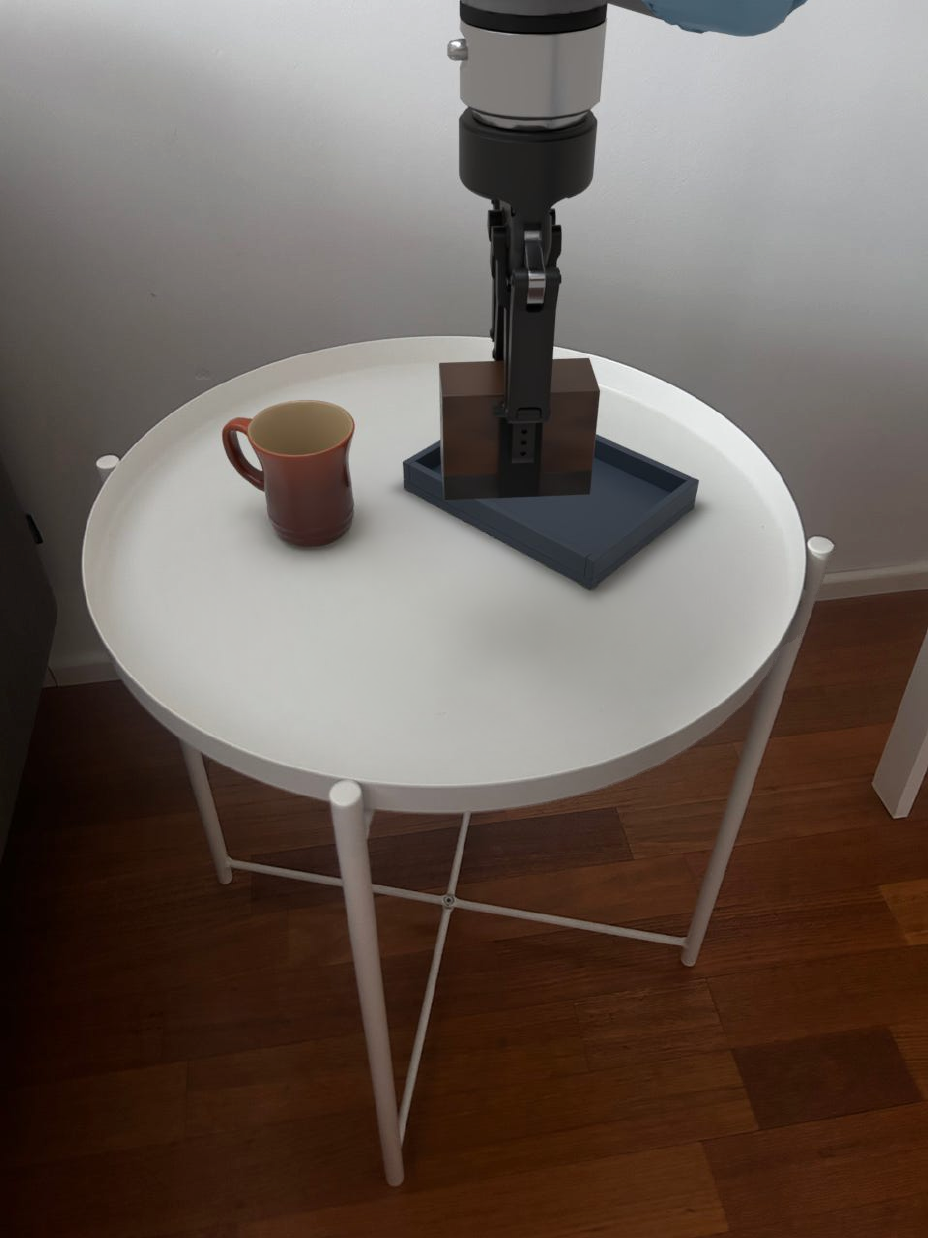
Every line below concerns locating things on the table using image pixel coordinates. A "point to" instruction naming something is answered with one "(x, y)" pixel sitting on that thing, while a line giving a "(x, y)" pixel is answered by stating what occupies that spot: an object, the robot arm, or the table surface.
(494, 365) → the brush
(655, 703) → the table surface
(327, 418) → the mug
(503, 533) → the tray
